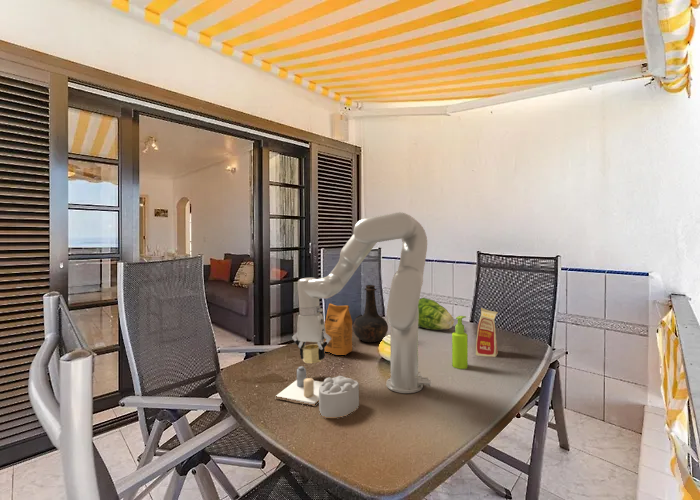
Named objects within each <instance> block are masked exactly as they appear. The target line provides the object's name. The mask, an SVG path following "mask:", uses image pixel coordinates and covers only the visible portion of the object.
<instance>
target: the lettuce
mask: <svg viewBox="0 0 700 500" xmlns="http://www.w3.org/2000/svg"><path fill="white" fill-rule="evenodd" d="M418 311H419V317H418V327H420V328H424V329H429V330H434V331H441V330H448V329H451V328H453V326H454V324H455V319H454V317H453V315H452V314H451V313H450V312H449V311H448V310H447V308H446V307H444V306H443V305H442V304H441V305H440V304H439V303H438V302H437V301H435V300H433V299H430V298H426V297H422V298H419V303H418Z"/></svg>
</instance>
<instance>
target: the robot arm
mask: <svg viewBox="0 0 700 500" xmlns="http://www.w3.org/2000/svg"><path fill="white" fill-rule="evenodd" d="M427 238H428V237H427V233H426V231H425V229H424V227H423V226H422V224H421V223H420V222H419V221H418V220H417V219H415V218H414V217H412V216H411V215H410V214H408V213H405V212H400V211H399V212H393V213H389V214H388V213H387V214H383V215H378V216H372V217H365V218H361V219H360V220H357V222H356V223H355V225H354V227H353V234H352V235H351V237H350V238H349V239H348V241H347V242H346V243H345V244H344V245H343V247H342V248H341V250H340V253H339V259H338V262H337V263H336V264H335V266H334V268H332V270H331V271H330V273H329V274H327V276H324V277H321V278H320V277H319V278H316V277H304V278H300V279H298V280H297V291H298V292H297V294H298V308H299V314H298V315H297V323H296V325H297V326H296V327H297V328H296V332H295V333H294V334H293V336H291V338H292V340H293V341H294V343H295V345H297V346H298V349H299V355H300V359H301V360H303V353H302V347H304V346H305V345H306V343H316V344H318V346H319V348H320V349H319V350H318V353H319V360H321V361H323V360H324V359H325V356H326V353H325V347H326V345H327V344H328V343H329V342H330V340H331V337H330V336H329V335H328V334H327V333H326V330H325V319H324V316H323V311H324V308H322V307H321V306H320V299H330V298H331V297H334V296H335V295H337V294H338V293H340V292H341V291H342V290H343V288H344V287H345V286H346V285H347V283H348V282H349V281H350V279H351V278H352V277H353V275H354V274H355V272H356V271H357V269H358V268H359V267H360V265H361V264H362V262H363V261H364V260H365V258H366V257H367V256H368V254H369V253H371V251H372V250H373V248H375V246H376V245H377V243H381V242H389V241H395V240H400V239H401V241H402V244H401V245H402V247H401V252H400V258H399V264H398V268H397V271H396V272H395V273H394V275H393V276H392V279H391V285H390V289H389V295H388V301H387V308H386V319H387V323H389V325H390V378H388V379H387V380H386V382H385V383H386V387H387V388H388V389H389V390H390V391H393V392H396V393H398V394H414V393H418V392H420V391H421V390H423V387H424V386H430V387H431V385H432V380H431V379H430V378H429V377H428V376H423V375H421V371H419V326H418V317H419V311H418V303H419V299H421V298H420V297H421V292H422V287H423V283H424V271H425V265H426V258H427V251H428V239H427ZM324 339H326V341H325V342H324ZM322 359H323V360H322Z"/></svg>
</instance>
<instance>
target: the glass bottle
mask: <svg viewBox="0 0 700 500" xmlns="http://www.w3.org/2000/svg"><path fill="white" fill-rule="evenodd" d="M364 290H365V304H364V305H365V307H364V312H363V314H359V315H358V316H356V318H355V319H354V322H353V323H352V332H353V333H354V335H355V336H356V337H357V339H359V340H360V341H361V340H362V341H361V342H364V341H365V343H377V342H380V341H381V340H383V339H384V338H385V337H386V335H387V334H388V332H389V326H388V321H386V320H385V318H383V317H382V316H381V315H380V314H379V312H378V309H377V301H376V291H377V290H378V289H377V288H376V286H375V285H373V284H367V285H365V288H364ZM383 337H384V338H383Z"/></svg>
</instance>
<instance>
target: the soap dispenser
mask: <svg viewBox="0 0 700 500" xmlns="http://www.w3.org/2000/svg"><path fill="white" fill-rule="evenodd" d="M464 318H465V319H466V318H467V316H466V315H458V316H456V317H455V319H456V320H457V323H456V324H455V326H454V327H455V329H454V332H452V334H451V341H452V342H451V348H452V349H451V353H452V354H451V363H452V365H451V366H452V367H453V368H454V369H457V370H465V369H467V368H468V367H469V366H468V365H469V364H468V362H469V361H468V356H469V355H468V351H469V350H468V347H469V346H468V342H469V341H468V333H466V332H465V325H464V324H463V319H464Z"/></svg>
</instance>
